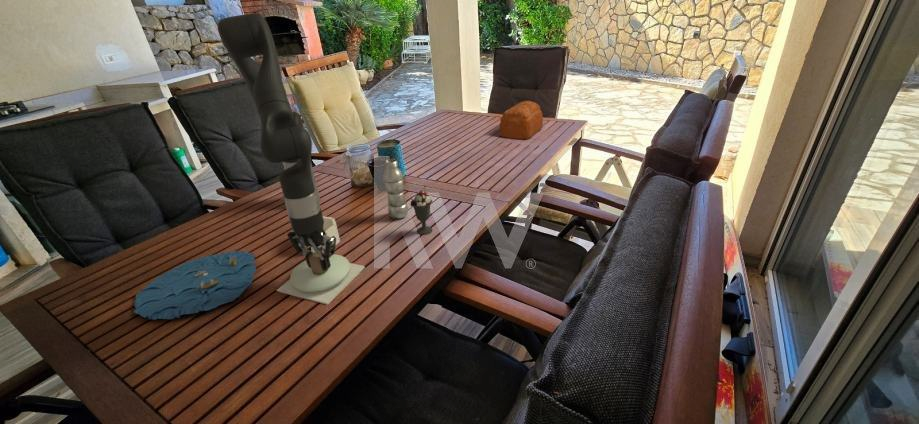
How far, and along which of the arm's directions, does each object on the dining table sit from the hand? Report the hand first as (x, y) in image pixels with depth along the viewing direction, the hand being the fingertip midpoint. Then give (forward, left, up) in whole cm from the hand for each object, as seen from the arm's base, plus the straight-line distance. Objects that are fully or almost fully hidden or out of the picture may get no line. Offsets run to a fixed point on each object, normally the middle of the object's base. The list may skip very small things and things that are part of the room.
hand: (319, 267), depth 104 cm
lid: (0, 0, -2) cm, 2 cm away
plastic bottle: (+2, +37, -4) cm, 37 cm away
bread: (+19, +141, -4) cm, 142 cm away
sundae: (+15, +31, -4) cm, 35 cm away
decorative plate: (-29, -13, -4) cm, 32 cm away
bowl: (-13, +15, -4) cm, 20 cm away
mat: (0, 0, -4) cm, 4 cm away
